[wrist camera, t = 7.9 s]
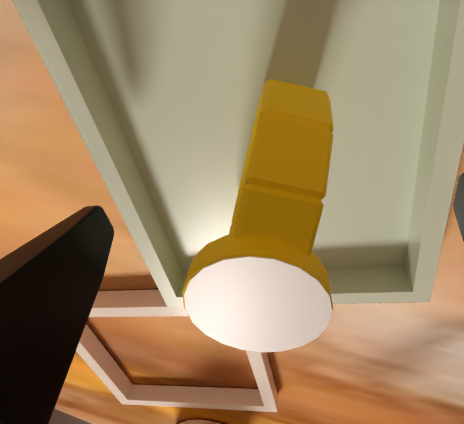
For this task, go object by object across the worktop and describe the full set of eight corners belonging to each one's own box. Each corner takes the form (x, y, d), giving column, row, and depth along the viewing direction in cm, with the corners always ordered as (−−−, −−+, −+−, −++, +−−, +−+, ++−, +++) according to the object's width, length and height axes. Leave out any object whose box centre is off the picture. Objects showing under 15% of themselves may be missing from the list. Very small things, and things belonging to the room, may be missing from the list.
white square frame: (249, 286, 16) (247, 305, 15) (278, 395, 22) (277, 412, 21) (50, 292, 18) (39, 308, 17) (127, 388, 24) (121, 404, 24)
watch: (244, 48, 9) (204, 136, 5) (346, 70, 9) (412, 182, 5) (211, 222, 13) (168, 377, 8) (285, 238, 13) (286, 402, 8)
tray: (489, -172, 7) (535, -194, 5) (417, 268, 14) (429, 302, 12) (35, -42, 9) (-7, -36, 8) (177, 277, 16) (167, 306, 15)
